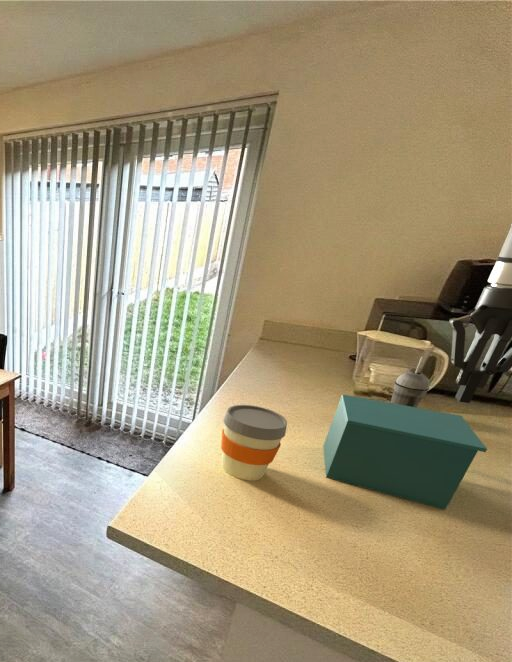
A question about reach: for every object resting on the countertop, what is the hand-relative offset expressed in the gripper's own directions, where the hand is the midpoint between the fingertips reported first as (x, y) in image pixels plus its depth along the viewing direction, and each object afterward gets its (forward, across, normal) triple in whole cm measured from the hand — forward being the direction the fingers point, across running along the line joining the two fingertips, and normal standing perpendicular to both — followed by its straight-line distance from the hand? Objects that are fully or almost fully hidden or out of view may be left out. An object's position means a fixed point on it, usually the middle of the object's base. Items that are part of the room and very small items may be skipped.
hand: (462, 399), depth 82 cm
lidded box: (+22, +8, 0) cm, 23 cm away
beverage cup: (+22, -1, -38) cm, 44 cm away
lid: (+7, +7, 0) cm, 10 cm away
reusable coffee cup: (+22, +35, +16) cm, 44 cm away
